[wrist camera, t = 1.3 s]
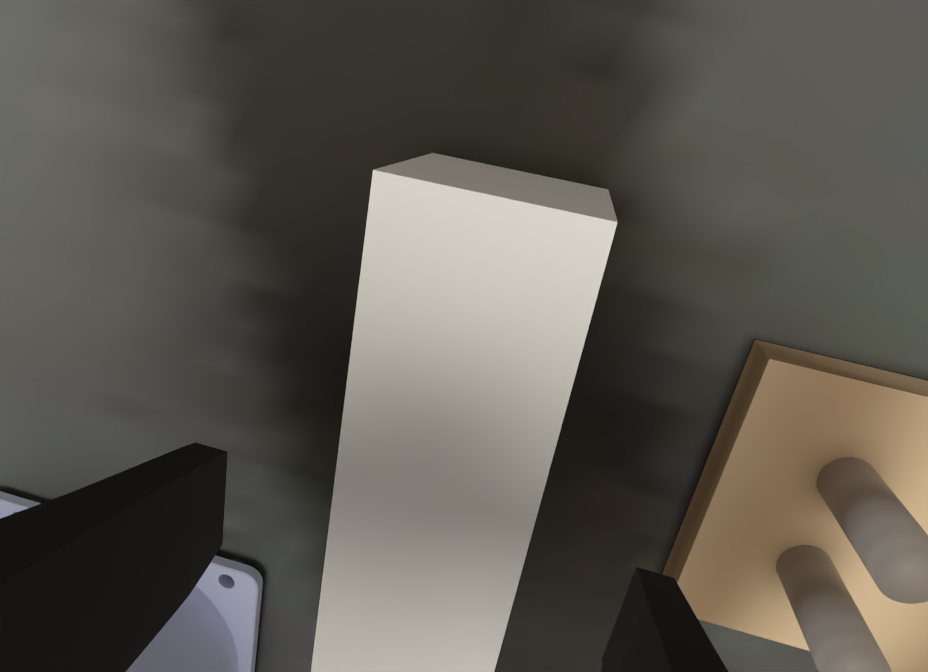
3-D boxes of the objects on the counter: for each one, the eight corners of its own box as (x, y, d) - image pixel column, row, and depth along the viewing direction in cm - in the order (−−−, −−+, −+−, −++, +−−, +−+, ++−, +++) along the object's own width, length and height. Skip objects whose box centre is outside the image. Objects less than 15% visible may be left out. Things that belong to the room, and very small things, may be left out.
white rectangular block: (500, 597, 18) (475, 742, 14) (370, 561, 19) (308, 690, 15) (607, 188, 14) (617, 222, 10) (435, 152, 14) (372, 170, 10)
